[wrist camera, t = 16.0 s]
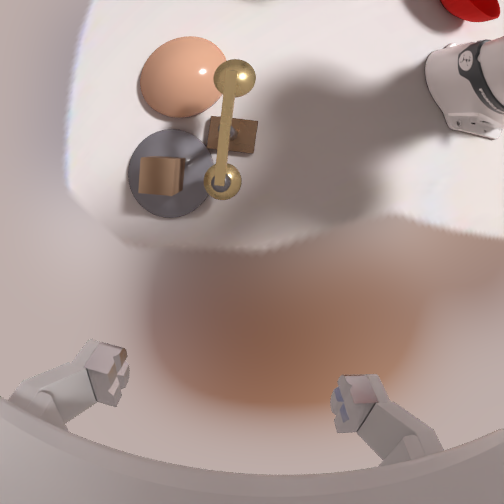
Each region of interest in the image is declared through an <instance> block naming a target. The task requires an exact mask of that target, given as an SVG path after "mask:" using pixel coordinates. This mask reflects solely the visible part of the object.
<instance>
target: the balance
mask: <svg viewBox="0 0 504 504" xmlns="http://www.w3.org/2000/svg"><path fill="white" fill-rule="evenodd" d="M213 80H214V84H215V87H216V88H217V90H218V91H219V92H220V93H221V94H223V103H222V112H221V117H216V116H211V121H210V128H209V135H208V142H207V148H211V149H217V159H216V164H215V165H213V166H211V167H210V168H209V169H208V170H207V172H206V173H205V176H204V187H205V189H206V191H207V193H208V194H209V195H210V196H211V197H213V198H215V199H218V200H227V199H230V198H232V197H233V196H235V195H236V194H237V193H238V191H239V189H240V187H241V175H240V173H239V171H238V170H237V169H236V168H235V167H234V166H233V165H231V164H228V163H227V159H228V150H229V151H238V152H245V153H253V152H254V146H255V139H256V132H257V125H258V121H252V120H244V119H236V118H232V116H233V108H234V100H235V97H241V96H244V95H246V94H247V93H249V92H250V91H251V90H252V88H253V87H254V84H255V80H256V75H255V71H254V69H253V68H252V66H251V65H250V64H248V63H247V62H245V61H243V60H238V59H233V60H228V61H225V62H224V63H222V64H221V65H219V66H218V68H217V69H216V71H215V73H214V77H213Z"/></svg>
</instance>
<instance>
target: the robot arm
mask: <svg viewBox="0 0 504 504" xmlns="http://www.w3.org/2000/svg"><path fill="white" fill-rule="evenodd" d="M425 75H426V81H427V85H428V88H429V90H430V93H431V95H432V97H433V98H434V100H435V102H436V103H437V104H438V106H439V107H440V109H441V110H442V112H443V114H444V116H445V119H446V122H447V124H448V126H449V127H450V128H451V129H454V130H459V131H463V132H467V133H472V134H476V135H480V136H483V137H487V138H491V139H498V138H499V137H500V135H501V132H502V129H504V36H503V37H500V38H497V39H495V40H482V41H481V40H480V41H477V42H470V43H465V44H460V45H457V44H455V43H451V44H449V45H448V46H447V47H446V48H445V49H440V50H436V51H434V52H432V53H431V54H430V55H429V57H428V59H427V61H426V66H425ZM457 123H458V125H457ZM126 358H127V351H126V349H125V348H122V347H118V346H115V345H111V344H108V343H104V342H100V341H96V340H93V339H90V340H88V341H87V342H86V344H85V345H84V346H83V348H82V349H81V351H80V352H79V353H78V355H77V356H76V357H75V359H74V360H73V361H72V363H66V364H63V365H61V366H58V367H56V368H53V369H51V370H49V371H46V372H44V373H41V374H39V375H36V376H34V377H32V378H29V379H26V380H24V381H22V382H21V384H20V385H19V386H18V387H17V389H16V390H15V391H14V393H13V394H12V395H11V397H10V398H9V400H8V401H7V400H6V399H4V398H3V397H1V396H0V504H504V429H499V430H496V431H494V432H492V433H490V434H487V435H485V436H482V437H480V438H478V439H475V440H473V441H470V442H467V443H465V444H462V445H459V446H456V447H453V448H450V449H447V450H445V451H444V449H443V447H442V445H441V443H440V441H439V439H438V437H437V435H436V433H435V431H434V429H432V428H431V427H429V426H428V425H427V424H425V423H424V422H422V421H420V420H419V419H418V418H416V417H415V416H414V415H412V414H411V413H409V412H408V411H406V410H405V409H404V408H402V407H401V406H399V405H398V404H397V403H395V402H391V401H390V399H389V397H388V395H387V393H386V391H385V389H384V386H383V384H382V383H381V381H380V378H379V376H378V375H377V374H366V375H341V376H340V377H339V380H338V387H337V388H336V389H334V391H333V393H332V395H331V402H330V403H331V410H332V412H333V413H334V414H335V415H336V418H335V419H334V422H335V426H336V430H337V433H348V432H357V434H358V435H359V436H360V437H361V438H362V439H363V440H364V441H365V442H366V443H367V444H368V445H369V446H370V447H371V448H372V449H373V450H374V451H375V453H376V454H377V455H378V456H379V457H380V458H381V459H382V460H383V462H382V463H381V464H380V465H379V466H378V467H374V468H367V469H361V470H353V471H345V472H335V473H323V474H304V475H264V474H244V473H233V472H223V471H214V470H206V469H200V468H193V467H187V466H182V465H176V464H171V463H166V462H162V461H158V460H153V459H149V458H145V457H141V456H138V455H134V454H130V453H127V452H124V451H120V450H117V449H113V448H111V447H108V446H105V445H102V444H99V443H96V442H93V441H91V440H88V439H86V438H83V437H80V436H78V435H75V434H73V433H71V432H69V431H68V429H67V427H66V425H65V423H67V422H68V421H70V420H71V419H73V418H74V417H76V416H77V415H79V414H80V413H82V412H83V411H85V410H86V409H88V408H89V407H91V406H92V405H94V404H95V403H97V402H100V403H103V404H107V405H110V406H114V407H117V404H118V402H119V400H120V398H121V396H122V394H121V389H123V388H125V387H126V385H127V383H128V379H129V365H128V363H127V362H126V361H125V360H126Z"/></svg>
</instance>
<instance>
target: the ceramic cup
mask: <svg viewBox="0 0 504 504" xmlns="http://www.w3.org/2000/svg"><path fill="white" fill-rule="evenodd" d="M440 1H441V3H442V4H443V6H444V7H445V8H446V9H447V10H448V11H449V12H450V13H451V14H453V15H454V16H457V17H459V18H461V19H463V20H466V21H470V22H485V21H489V20H493V19H496V18H498V17H499V15H500V7H499V3H498V1H497V0H440Z"/></svg>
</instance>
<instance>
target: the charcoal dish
mask: <svg viewBox="0 0 504 504" xmlns="http://www.w3.org/2000/svg"><path fill="white" fill-rule="evenodd" d="M150 156H163V157H178V158H186V160H185V170H184V180H183V190H182V191H180V192H178V193H177V194H175V195H173V196H166V195H155V194H143V193H138V191H139V174H140V161H141V157H150ZM213 165H214V164H213V160H212V157H211V154H210V152H209V150H208V149H207V147H206V146H205V145H204V143H203V142H202V141H201V140H199V139H198V138H197V137H195V136H194V135H192V134H190V133H188V132H185V131H181V130H175V129H168V130H162V131H159V132H156V133H154V134H152V135H150V136H148V137H147V138H146V139H144V140H143V141H142V142H141V143H140V144H139V145H138V147H137V148H136V150H135V151H134V153H133V155H132V158H131V160H130V164H129V170H128V178H129V184H130V188H131V191H132V193H133V195H134V197H135V199H136V200H137V201H138V203H139V204H140V205H141V206H142V207H143V208H144V209H146V210H147V211H149V212H150V213H152V214H154V215H157V216H161V217H167V218H173V217H180V216H183V215H186V214H188V213H190V212H192V211H193V210H195V209H196V208H197V207H198V206H199V205H201V204H202V202H203V201H204V200H205V199H206V197H207V196H208V193H207V191H206V189H205V187H204V176H205V173H206V172H207V170H208V169H209V168H210V167H211V166H213Z"/></svg>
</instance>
